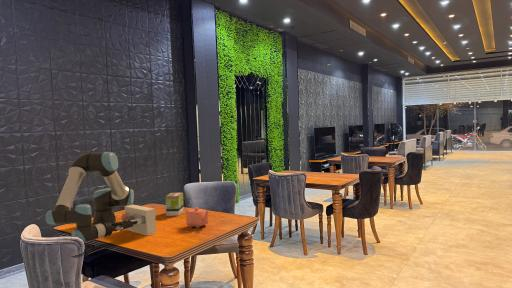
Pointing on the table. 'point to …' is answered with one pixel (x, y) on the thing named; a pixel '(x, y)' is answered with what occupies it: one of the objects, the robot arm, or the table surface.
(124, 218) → the terracotta button
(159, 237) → the table surface
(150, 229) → the button panel
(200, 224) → the teapot
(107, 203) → the robot arm
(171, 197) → the tea box
